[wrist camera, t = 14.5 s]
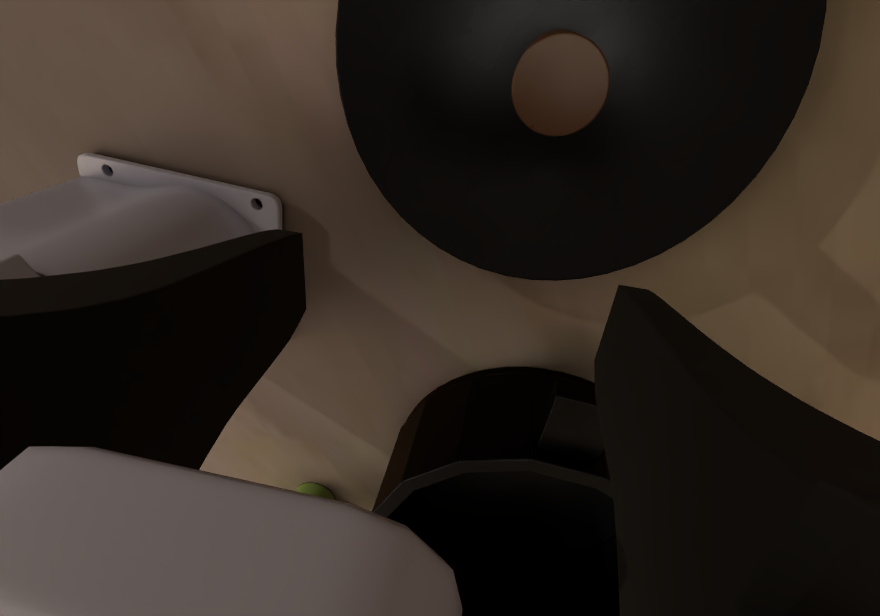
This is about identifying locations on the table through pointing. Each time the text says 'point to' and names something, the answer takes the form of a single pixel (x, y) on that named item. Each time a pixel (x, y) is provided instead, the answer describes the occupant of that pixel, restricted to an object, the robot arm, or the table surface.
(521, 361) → the table surface
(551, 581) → the pot
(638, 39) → the lid
